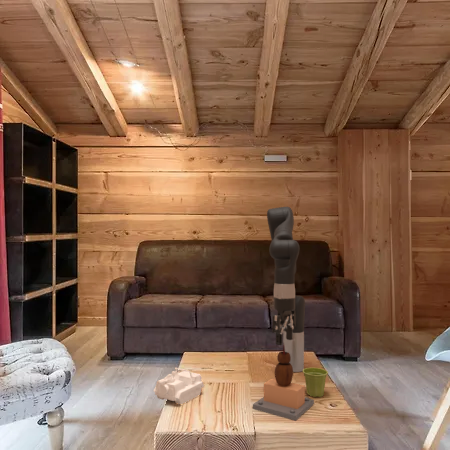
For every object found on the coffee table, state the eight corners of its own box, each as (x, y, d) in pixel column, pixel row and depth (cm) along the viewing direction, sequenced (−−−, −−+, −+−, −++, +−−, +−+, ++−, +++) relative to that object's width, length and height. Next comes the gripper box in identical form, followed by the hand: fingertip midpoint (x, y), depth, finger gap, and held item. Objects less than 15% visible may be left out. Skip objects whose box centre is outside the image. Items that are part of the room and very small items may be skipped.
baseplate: (273, 394, 150) (273, 388, 151) (313, 404, 142) (313, 397, 142) (252, 408, 137) (252, 401, 137) (295, 420, 128) (295, 413, 128)
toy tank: (205, 393, 151) (205, 367, 151) (170, 412, 134) (171, 382, 135) (180, 386, 157) (181, 362, 158) (145, 403, 141) (145, 376, 141)
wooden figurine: (287, 389, 135) (288, 344, 136) (272, 385, 138) (272, 342, 139) (295, 383, 141) (295, 340, 142) (280, 380, 144) (280, 338, 145)
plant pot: (297, 394, 150) (298, 371, 151) (309, 387, 157) (309, 365, 158) (320, 401, 144) (320, 377, 144) (332, 394, 151) (332, 370, 152)
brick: (271, 394, 146) (271, 378, 146) (304, 402, 139) (304, 385, 139) (263, 400, 141) (263, 383, 141) (297, 409, 133) (297, 391, 134)
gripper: (283, 293, 149) (283, 336, 148) (265, 297, 137) (265, 345, 136) (302, 294, 145) (302, 339, 144) (285, 299, 133) (285, 348, 132)
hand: (284, 342), depth 140 cm, fingers open, 8 cm apart
